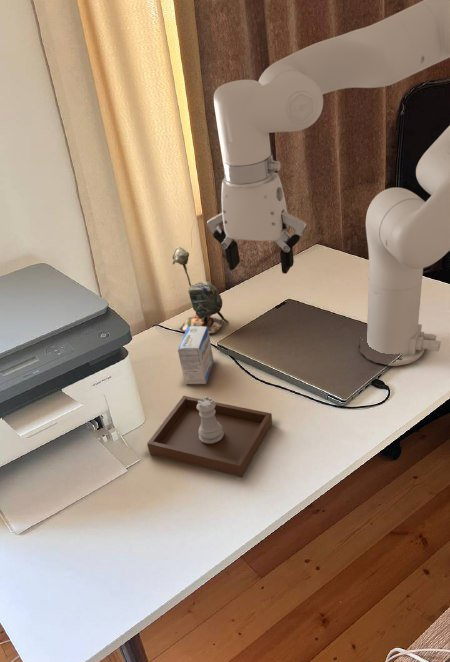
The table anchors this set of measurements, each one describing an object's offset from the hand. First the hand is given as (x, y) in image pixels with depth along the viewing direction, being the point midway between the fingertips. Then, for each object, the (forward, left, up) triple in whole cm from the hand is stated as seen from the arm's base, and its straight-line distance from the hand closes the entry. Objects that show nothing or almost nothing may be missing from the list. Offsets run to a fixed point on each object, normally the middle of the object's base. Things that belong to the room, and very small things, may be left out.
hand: (260, 267), depth 109 cm
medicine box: (+14, +3, -23) cm, 27 cm away
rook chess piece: (+3, +20, -23) cm, 31 cm away
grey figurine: (+20, -12, -23) cm, 33 cm away
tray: (+3, +20, -23) cm, 31 cm away
